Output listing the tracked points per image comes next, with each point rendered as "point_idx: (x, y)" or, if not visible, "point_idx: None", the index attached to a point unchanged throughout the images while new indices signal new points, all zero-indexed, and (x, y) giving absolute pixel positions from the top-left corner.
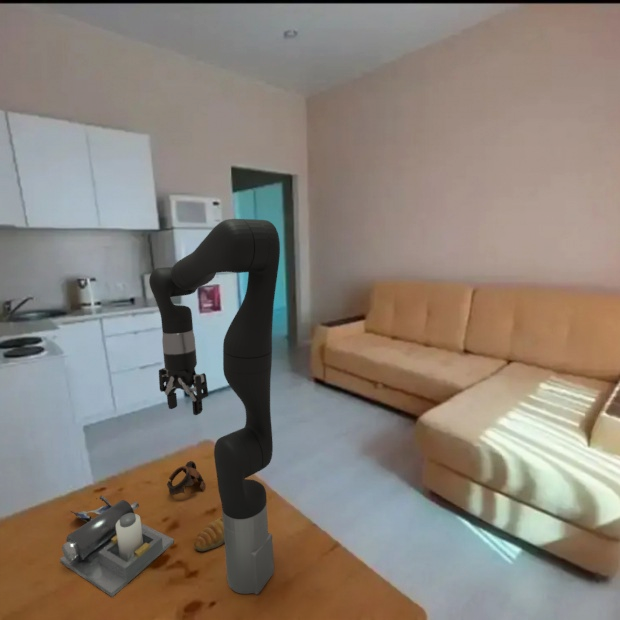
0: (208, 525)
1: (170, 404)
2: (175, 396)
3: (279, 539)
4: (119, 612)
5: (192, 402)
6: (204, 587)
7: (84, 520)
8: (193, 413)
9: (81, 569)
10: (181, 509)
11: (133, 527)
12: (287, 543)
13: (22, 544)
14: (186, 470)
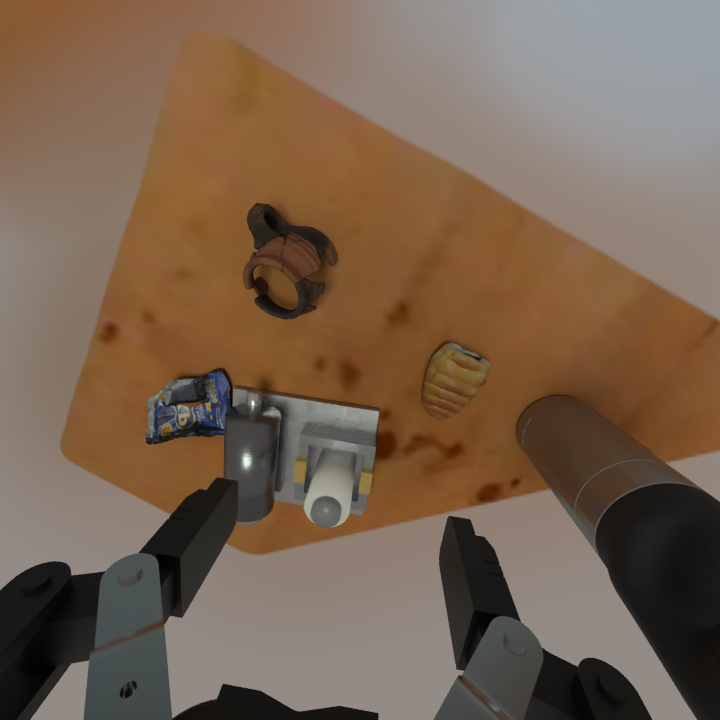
0: (438, 382)
1: (220, 550)
2: (197, 542)
3: (586, 341)
4: (391, 523)
5: (456, 656)
6: (488, 465)
7: (183, 428)
8: (441, 568)
9: (282, 498)
10: (330, 330)
11: (348, 514)
12: (606, 345)
13: (139, 479)
14: (287, 276)
